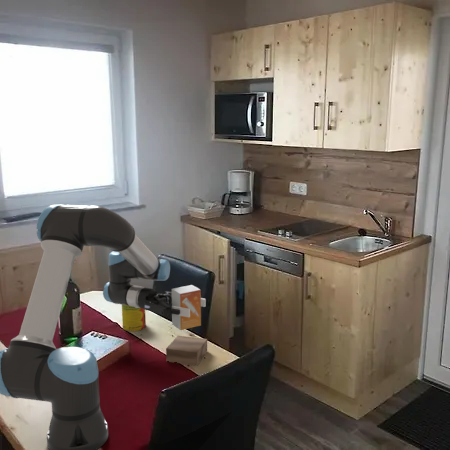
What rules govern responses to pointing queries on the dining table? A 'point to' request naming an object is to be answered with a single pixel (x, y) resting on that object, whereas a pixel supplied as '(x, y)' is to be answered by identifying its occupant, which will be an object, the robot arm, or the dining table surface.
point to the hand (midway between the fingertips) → (197, 307)
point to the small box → (187, 306)
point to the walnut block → (186, 350)
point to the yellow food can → (133, 318)
